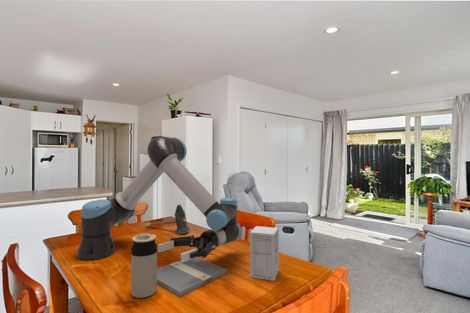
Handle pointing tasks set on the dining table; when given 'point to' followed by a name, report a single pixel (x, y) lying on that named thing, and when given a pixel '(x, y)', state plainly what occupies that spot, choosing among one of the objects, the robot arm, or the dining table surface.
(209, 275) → the board
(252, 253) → the supplement box
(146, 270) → the travel mug
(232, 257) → the dining table surface
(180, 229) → the hammer
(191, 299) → the dining table surface
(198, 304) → the dining table surface
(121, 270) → the dining table surface
